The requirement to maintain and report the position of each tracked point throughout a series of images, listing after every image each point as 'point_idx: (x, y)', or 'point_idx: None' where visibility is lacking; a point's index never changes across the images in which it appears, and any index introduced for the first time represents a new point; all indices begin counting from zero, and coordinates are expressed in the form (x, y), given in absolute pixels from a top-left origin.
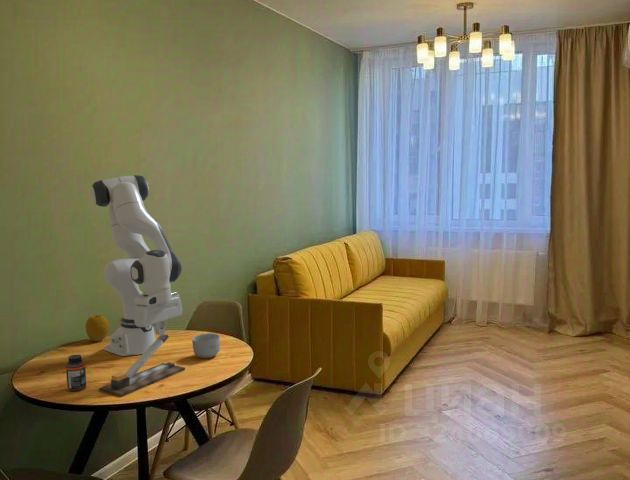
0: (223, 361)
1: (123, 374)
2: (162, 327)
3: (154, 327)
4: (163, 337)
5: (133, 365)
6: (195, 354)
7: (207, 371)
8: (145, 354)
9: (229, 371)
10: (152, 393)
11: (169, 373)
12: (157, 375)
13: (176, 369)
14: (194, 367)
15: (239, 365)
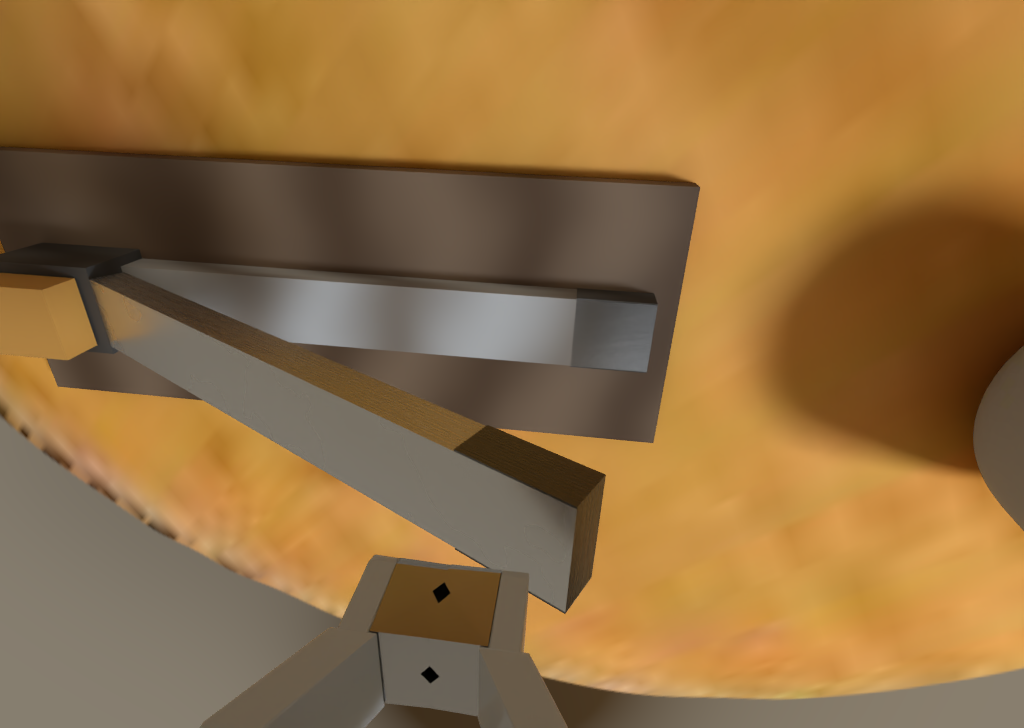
0: (926, 565)
1: (34, 354)
2: (482, 711)
3: (272, 688)
4: (502, 556)
5: (155, 325)
6: (1020, 350)
7: (677, 568)
8: (256, 392)
9: (720, 665)
10: (226, 491)
11: (485, 423)
12: (409, 371)
13: (583, 416)
14: (730, 458)
15: (851, 672)
